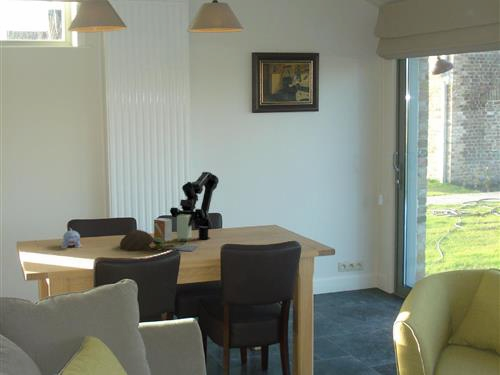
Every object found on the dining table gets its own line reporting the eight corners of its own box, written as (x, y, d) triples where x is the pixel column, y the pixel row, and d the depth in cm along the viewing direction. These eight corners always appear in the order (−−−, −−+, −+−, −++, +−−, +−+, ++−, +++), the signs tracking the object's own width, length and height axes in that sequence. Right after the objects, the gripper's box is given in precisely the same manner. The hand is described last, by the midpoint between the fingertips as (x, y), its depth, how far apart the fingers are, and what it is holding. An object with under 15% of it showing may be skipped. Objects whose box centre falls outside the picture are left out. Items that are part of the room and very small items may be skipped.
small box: (153, 242, 414) (153, 219, 412) (161, 240, 419) (161, 217, 417) (164, 243, 409) (164, 220, 408) (172, 241, 415) (172, 219, 413)
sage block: (181, 235, 399) (181, 214, 398) (191, 236, 397) (191, 214, 396) (177, 238, 394) (176, 216, 392) (187, 238, 392) (187, 216, 390)
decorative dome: (115, 245, 404) (115, 228, 402) (149, 243, 412) (149, 225, 411) (124, 252, 386) (124, 234, 385) (160, 249, 394) (160, 231, 393)
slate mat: (176, 246, 403) (176, 244, 403) (197, 247, 401) (197, 245, 401) (170, 250, 392) (170, 249, 391) (191, 251, 389) (191, 250, 389)
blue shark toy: (62, 250, 391) (61, 232, 389) (60, 244, 405) (60, 227, 404) (82, 249, 394) (82, 231, 392) (80, 243, 408) (80, 226, 407)
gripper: (170, 192, 399) (162, 216, 390) (202, 194, 393) (195, 218, 384) (176, 205, 407) (168, 227, 398) (208, 206, 402) (200, 230, 393)
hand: (183, 225), depth 393 cm, fingers closed on sage block, 6 cm apart
